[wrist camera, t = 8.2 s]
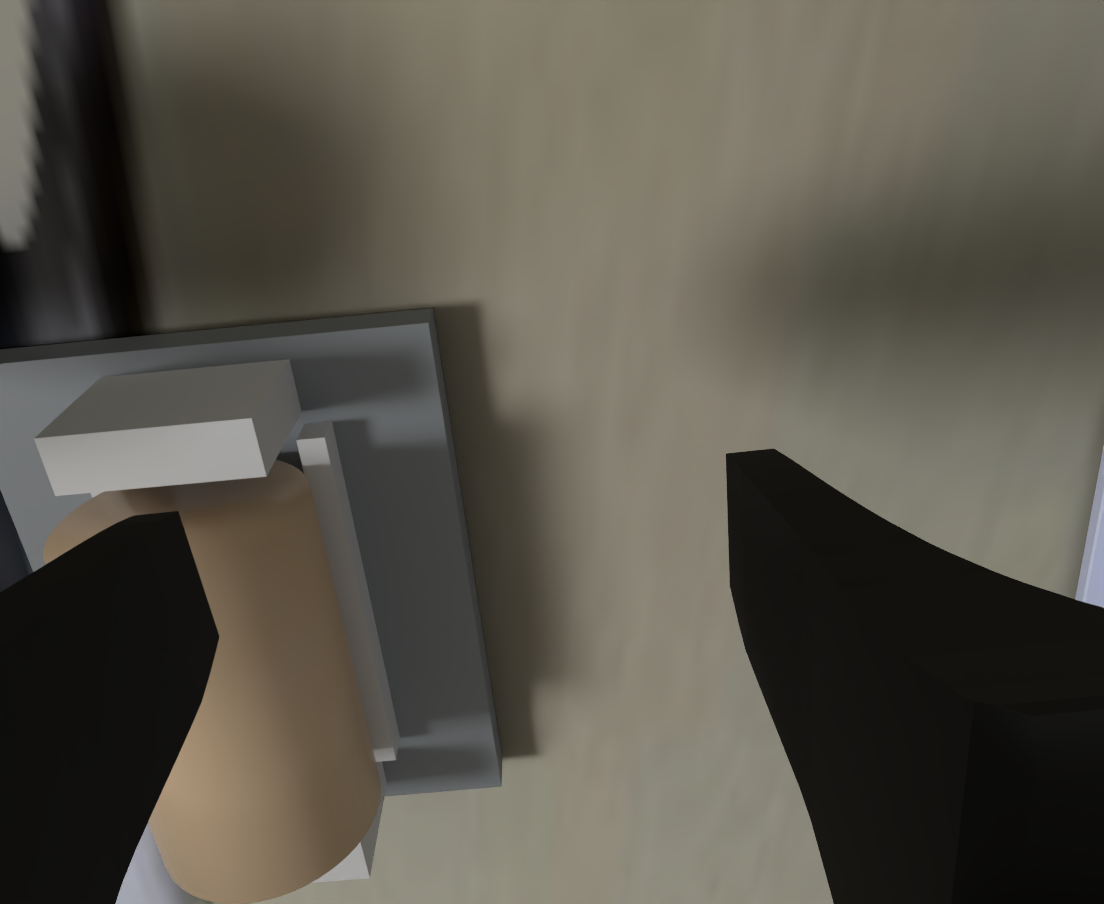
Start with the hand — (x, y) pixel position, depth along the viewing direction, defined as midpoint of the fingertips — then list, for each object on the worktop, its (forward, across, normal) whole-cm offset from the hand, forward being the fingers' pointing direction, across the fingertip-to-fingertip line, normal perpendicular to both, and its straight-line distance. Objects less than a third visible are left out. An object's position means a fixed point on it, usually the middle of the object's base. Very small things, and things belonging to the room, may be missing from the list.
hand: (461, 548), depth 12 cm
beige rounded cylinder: (+6, +6, +6) cm, 10 cm away
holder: (+9, +6, +6) cm, 13 cm away
